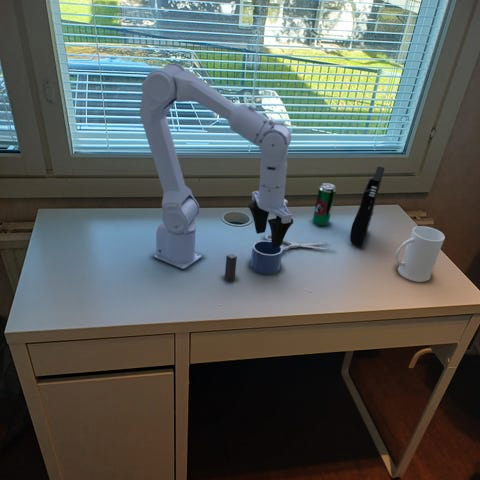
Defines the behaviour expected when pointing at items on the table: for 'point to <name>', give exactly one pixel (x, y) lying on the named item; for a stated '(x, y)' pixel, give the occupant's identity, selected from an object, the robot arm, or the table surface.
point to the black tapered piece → (366, 209)
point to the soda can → (324, 204)
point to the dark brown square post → (230, 267)
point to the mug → (420, 253)
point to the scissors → (296, 244)
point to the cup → (266, 257)
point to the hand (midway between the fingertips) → (268, 239)
